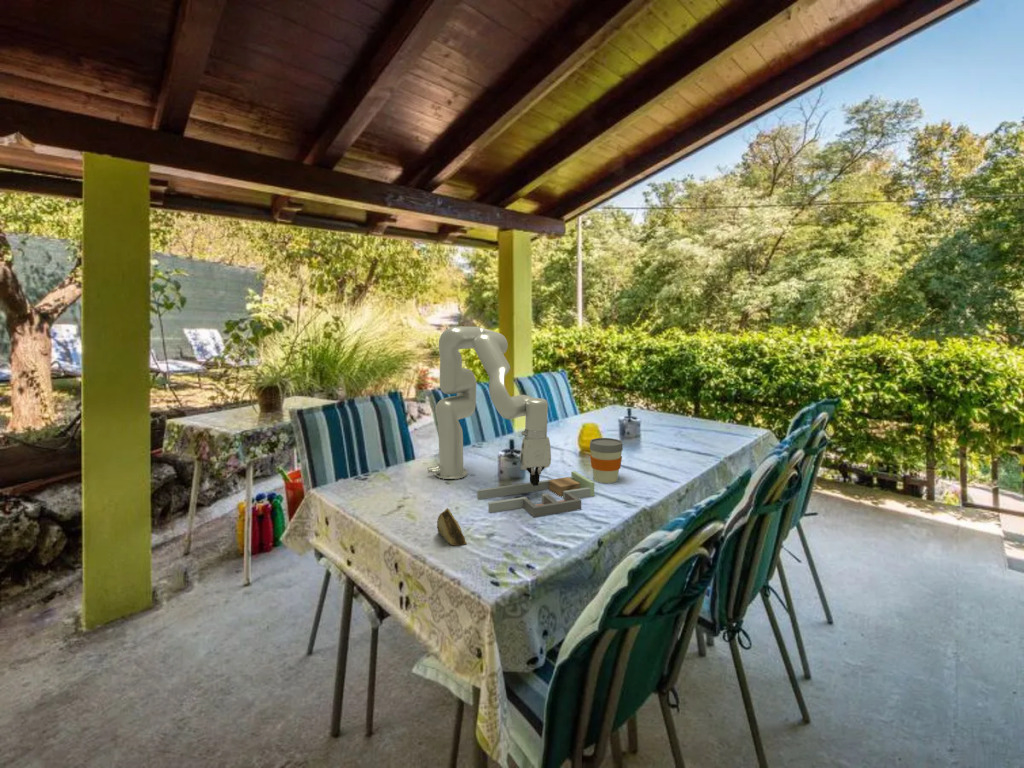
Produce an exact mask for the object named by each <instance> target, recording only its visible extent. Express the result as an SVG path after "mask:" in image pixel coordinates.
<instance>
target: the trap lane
mask: <svg viewBox="0 0 1024 768" xmlns="http://www.w3.org/2000/svg"><path fill="white" fill-rule="evenodd" d="M570 473H571V474H570V475H571V476H568V477H569V478H571V479H573V480H574V481H576V482H578V483H580V489H573V490H567V491H563V497H562V500H557V499H555V498H554V497H552V496H551V495H550V494H549V493H542V494H541V503H538V504H535V503H534V502H532V500H531V499H529V498H528V497H527V496H521V497H515V498H509V499H508V498H507V499H502V500H496V501H495V500H494V501H488V502H487V503H488V513H490V514H491V513H498V512H505V511H510V510H516V509H517V510H518V509H521V508H522V509H524V510H525V511H526V512H527V513H528V514H529V515H530V516H532V517H533V518H537V517H538V518H539V517H543V516H548V515H554V514H555V515H556V514H560V513H561V512H562V513H567V511H568V512H572V510H574V511H578V510H577V509H580V510H582V499H584V498H583V497H587V498H591V497H590V496H593V497H595V482H594V481H592V480H591V479H589V478H588V477H585V476H584V475H582V474H581V473H579V472H577V471H576V470H573V471H571V472H570ZM559 478H560V477H559ZM559 478H557V479H559ZM554 479H555V478H553V479H545V480H539V482H538V486H533V485H532V484H531V483H530V482H523V483H518V484H517V483H516V484H510V485H508V484H507V485H503V486H495V487H489V488H479V489H477V490H476V499H477V500H486V499H492V498H498V497H499V498H500V497H505V496H512V495H513V496H514V495H518V494H519V495H520V494H526V493H533V492H538V491H539V490H540V491H545V489H547V490H549V480H554ZM579 498H580V499H579ZM563 499H564V500H563Z"/></svg>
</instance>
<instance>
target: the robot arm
mask: <svg viewBox="0 0 1024 768" xmlns="http://www.w3.org/2000/svg"><path fill="white" fill-rule="evenodd" d="M508 347H509V345H508V340H507V338H506V337H505V336H504V335H503V334H502V333H500V332H497V331H494V330H490V329H488V328H483V327H481V326H461V325H460V326H452V327H449V328H446V329H445V330H444V331H442V333H441V334H440V336H439V340H438V350H439V351H438V352H439V389H440V390H441V392H442V393H443V394H446V395H454V396H447V397H444V398H442V399H440V400H439V401H438V402H437V403H436V405H435V410H434V412H435V416H436V421H437V430H438V453H439V455H438V456H439V457H438V458H439V459H438V460H439V461H438V462H439V463H437V465H435V466H434V467H432V466H431V467H430V466H429V467H427V473H432V474H435V476H437V477H439V478H438V479H440V478H443V479H442V480H444V479H455V480H460V478H461V479H463V477H464V478H465V476H466V477H467V476H468V471H467V469H464V435H463V433H464V432H463V428H462V426H461V423H460V422H459V420H463V419H465V418H469V417H471V416H472V415H473V414H474V413H475V410H476V404H477V403H476V401H477V379H476V375H475V373H474V372H473V371H472V370H471V369H469V368H466V367H463V358H462V355H461V353H460V351H459V350H466V349H467V350H468V349H473V350H474V351H475V353H476V355H477V358H478V359H479V361H480V364H482V366H483V369H484V371H486V374H487V376H488V377H489V381H488V390H489V392H488V393H489V396H490V400H491V402H492V404H493V405H494V407H495V409H496V411H497V412H498V414H499V415H500V416H501V418H504V419H505V420H512V419H513V420H514V419H518V418H520V417H525V422H524V423H525V427H524V431H521V436H524V437H523V438H522V443H521V447H520V460H519V461H520V469H521V470H522V471H527V472H528V473H529V483H531V484H532V485H533V486H538V482H539V481H540V476H541V474H542V472H543V470H545V469H547V468H549V467H550V465H551V464H552V463H551V462H552V450H551V442H550V438H549V436H548V435H547V434H548V433H547V432H548V411H549V410H548V408H549V405H548V404H549V403H548V401H547V399H544V398H541V397H532V396H529V395H527V394H519V395H513V396H511V395H510V394H509V392H508V389H507V388H506V385H505V378H506V376H507V374H508V373H509V372H510V370H511V366H510V363H509V362H508V359H507V358H506V356H505V355H504V354H505V353H506V352H507V350H508ZM455 394H456V395H455ZM437 477H436V478H437Z"/></svg>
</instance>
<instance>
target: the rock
mask: <svg viewBox="0 0 1024 768" xmlns="http://www.w3.org/2000/svg"><path fill="white" fill-rule="evenodd" d="M436 528H437V532H438V534H439V535H440V534H441V535H440V536H443V537H444V538H443V537H442V538H443V539H445V541H446V540H447V541H448V542H447V543H450V544H451V545H450V544H449V545H450V546H464V544H466V545H467V542H466V538H465V535H464V534H463V531H462V529H461V525H460V524H459V523H458V521H457V519H456V518H455V517H454V515H453V513H452V512H451V511H450V509H449V508H448V507H447V508H446V509H444V511H443V512H441V513H440V514H439V515H438V517H437V521H436Z"/></svg>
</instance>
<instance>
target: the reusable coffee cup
mask: <svg viewBox="0 0 1024 768" xmlns="http://www.w3.org/2000/svg"><path fill="white" fill-rule="evenodd" d="M589 450H590V455H589V457H590V458H589V459H590V466H591V468H592V475H593V480H594V481H595V482H597V481H598V482H597V483H600V482H602V483H601V484H614V483H616V482H618V479H619V470H620V469H621V466H622V459H623V457H622V451H623V450H624V448H623V441H622V440H619V439H617V438H610V437H598V438H593V439H591V440H590V442H589ZM613 482H614V483H613Z"/></svg>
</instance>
